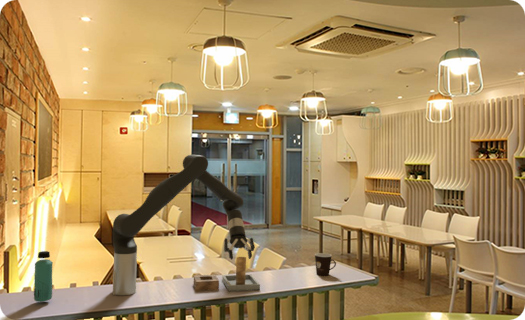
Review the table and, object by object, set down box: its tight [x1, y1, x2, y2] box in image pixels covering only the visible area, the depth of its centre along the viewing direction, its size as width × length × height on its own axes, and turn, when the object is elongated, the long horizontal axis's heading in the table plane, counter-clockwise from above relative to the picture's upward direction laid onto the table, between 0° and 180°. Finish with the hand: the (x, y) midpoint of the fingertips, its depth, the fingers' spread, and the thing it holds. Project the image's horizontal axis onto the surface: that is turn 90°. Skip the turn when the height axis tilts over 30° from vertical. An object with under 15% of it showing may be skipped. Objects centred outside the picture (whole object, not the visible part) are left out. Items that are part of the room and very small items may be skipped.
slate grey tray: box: [221, 273, 261, 293], centre depth 198 cm, size 14×17×2 cm
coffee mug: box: [314, 252, 337, 277], centre depth 219 cm, size 12×9×10 cm
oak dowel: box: [235, 256, 247, 285], centre depth 198 cm, size 4×4×12 cm
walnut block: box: [193, 274, 220, 292], centre depth 193 cm, size 10×10×4 cm
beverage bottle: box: [33, 250, 53, 302], centre depth 167 cm, size 6×7×20 cm
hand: (241, 258), depth 198 cm, fingers open, 8 cm apart
